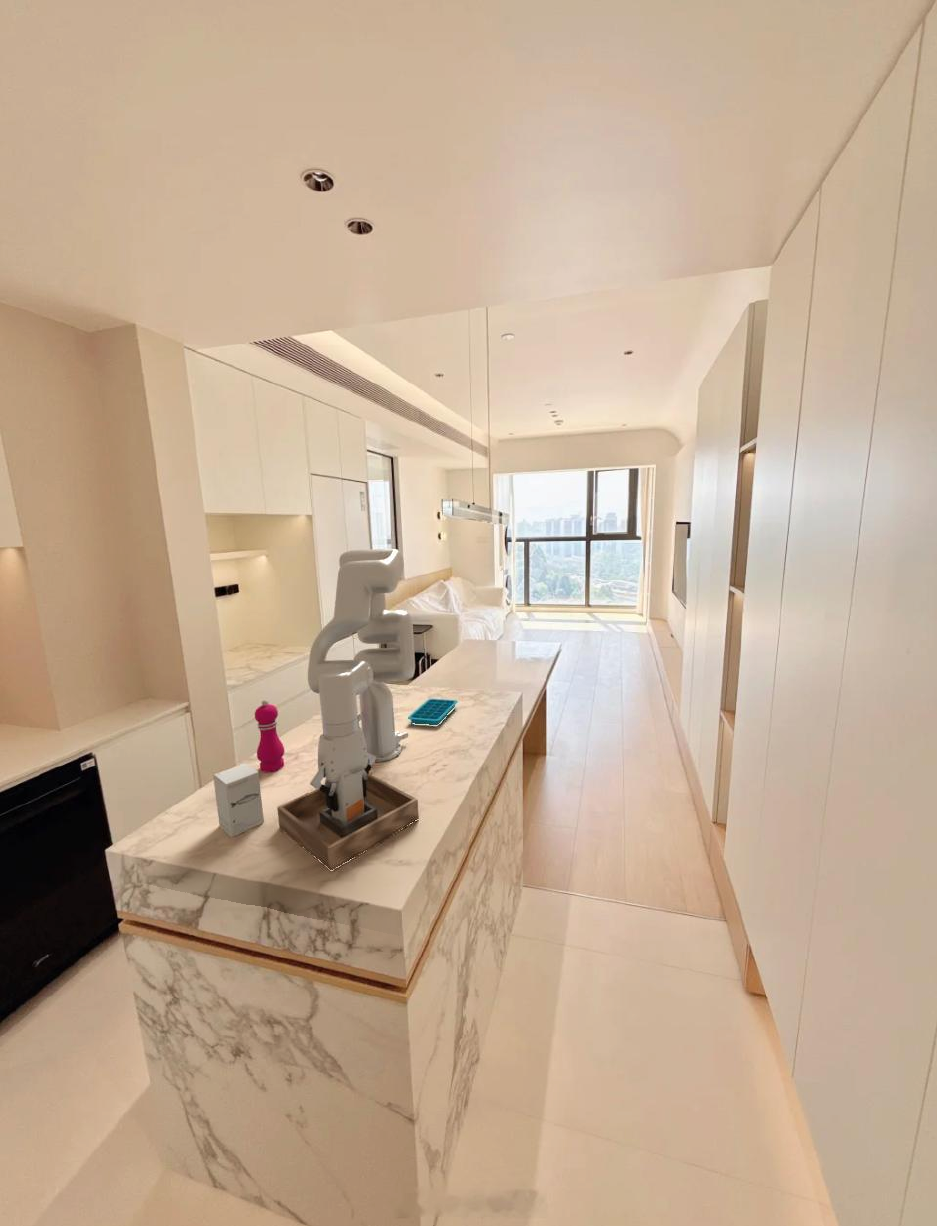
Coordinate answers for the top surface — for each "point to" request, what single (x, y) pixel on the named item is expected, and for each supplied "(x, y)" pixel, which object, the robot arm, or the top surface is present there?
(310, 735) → the top surface
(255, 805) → the supplement box
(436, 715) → the ice cube tray
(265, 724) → the pepper mill
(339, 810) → the skincare box
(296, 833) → the walled box
